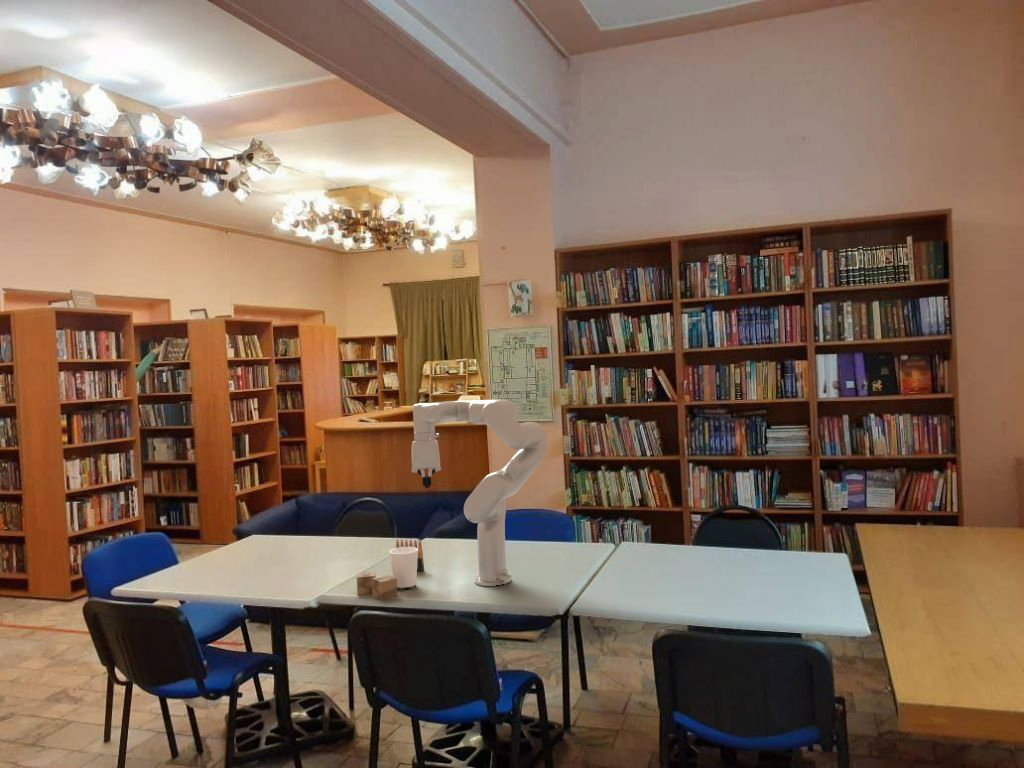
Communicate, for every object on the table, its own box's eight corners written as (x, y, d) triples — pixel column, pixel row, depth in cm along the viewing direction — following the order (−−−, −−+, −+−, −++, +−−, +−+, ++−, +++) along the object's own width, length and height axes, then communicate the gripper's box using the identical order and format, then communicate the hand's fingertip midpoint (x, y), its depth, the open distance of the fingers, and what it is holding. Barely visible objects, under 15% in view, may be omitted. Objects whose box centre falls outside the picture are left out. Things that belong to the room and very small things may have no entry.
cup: (424, 583, 259) (422, 547, 259) (412, 591, 249) (411, 554, 249) (397, 582, 261) (396, 546, 261) (385, 590, 252) (384, 553, 252)
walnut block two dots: (397, 596, 246) (396, 577, 245) (381, 600, 242) (380, 581, 242) (388, 592, 250) (388, 574, 250) (372, 596, 247) (372, 577, 246)
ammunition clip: (395, 571, 276) (394, 539, 276) (397, 570, 278) (395, 538, 278) (422, 572, 274) (421, 539, 274) (424, 570, 276) (423, 538, 276)
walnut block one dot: (376, 588, 255) (375, 570, 255) (375, 593, 249) (374, 575, 249) (358, 590, 254) (357, 572, 254) (357, 595, 248) (356, 576, 248)
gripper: (444, 435, 274) (446, 484, 274) (403, 437, 271) (406, 487, 272) (446, 436, 267) (448, 487, 267) (404, 439, 264) (406, 490, 264)
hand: (427, 487), depth 269 cm, fingers closed
